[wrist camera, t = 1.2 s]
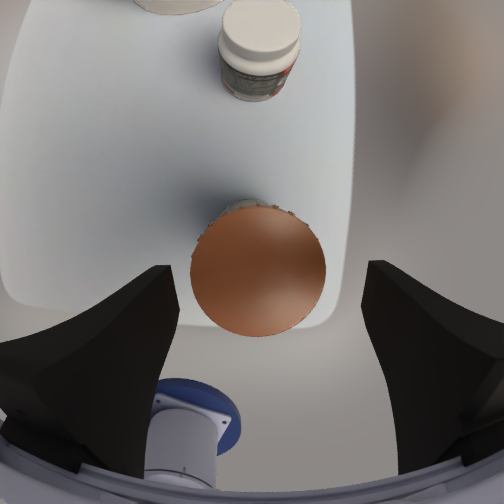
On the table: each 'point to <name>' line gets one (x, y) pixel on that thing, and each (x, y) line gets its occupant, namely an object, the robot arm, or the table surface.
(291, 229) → the lid
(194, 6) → the mug
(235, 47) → the pill bottle
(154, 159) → the table surface
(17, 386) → the robot arm
